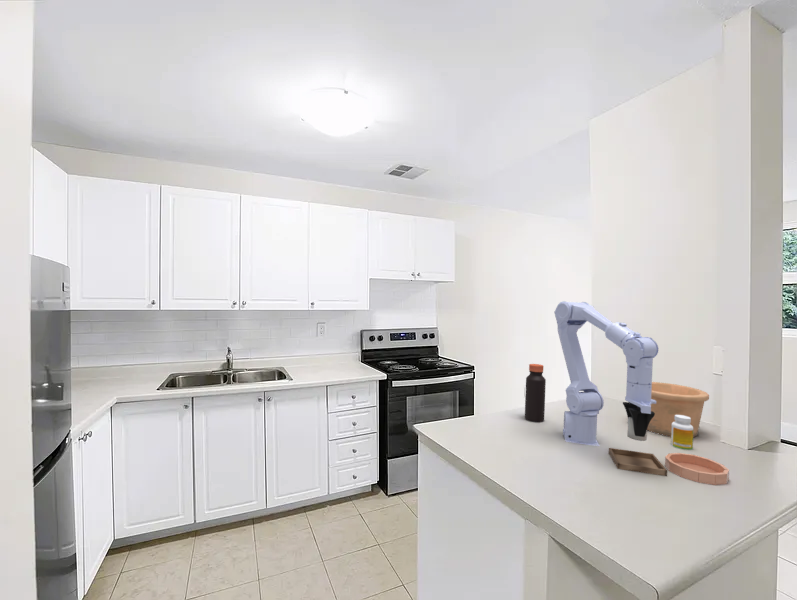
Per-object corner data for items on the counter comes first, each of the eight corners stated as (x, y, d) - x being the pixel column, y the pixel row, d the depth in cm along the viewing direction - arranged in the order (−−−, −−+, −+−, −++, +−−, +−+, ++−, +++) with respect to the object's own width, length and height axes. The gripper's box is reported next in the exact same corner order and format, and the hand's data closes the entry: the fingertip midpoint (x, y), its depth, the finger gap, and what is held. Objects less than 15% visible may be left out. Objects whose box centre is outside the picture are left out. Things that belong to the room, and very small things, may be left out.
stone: (629, 439, 101) (630, 420, 101) (625, 433, 106) (626, 415, 106) (648, 441, 100) (649, 422, 100) (643, 436, 104) (644, 417, 104)
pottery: (635, 415, 149) (636, 378, 149) (707, 429, 135) (709, 388, 135) (625, 429, 133) (627, 388, 132) (707, 446, 119) (708, 400, 119)
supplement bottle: (696, 452, 113) (697, 420, 113) (676, 450, 115) (677, 418, 114) (686, 446, 119) (687, 414, 119) (667, 444, 120) (668, 413, 120)
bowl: (676, 481, 95) (676, 469, 95) (659, 460, 107) (659, 450, 107) (738, 490, 91) (739, 478, 91) (713, 468, 103) (714, 457, 103)
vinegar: (546, 419, 141) (547, 364, 141) (542, 423, 136) (544, 367, 135) (527, 415, 145) (529, 362, 145) (522, 420, 139) (524, 365, 139)
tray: (617, 470, 99) (617, 463, 99) (608, 454, 110) (608, 447, 110) (666, 478, 96) (667, 470, 96) (652, 461, 106) (653, 453, 106)
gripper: (665, 390, 95) (663, 444, 95) (647, 378, 108) (646, 426, 108) (633, 387, 97) (631, 440, 97) (619, 376, 111) (617, 423, 111)
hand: (637, 432), depth 103 cm, fingers closed on stone, 4 cm apart
